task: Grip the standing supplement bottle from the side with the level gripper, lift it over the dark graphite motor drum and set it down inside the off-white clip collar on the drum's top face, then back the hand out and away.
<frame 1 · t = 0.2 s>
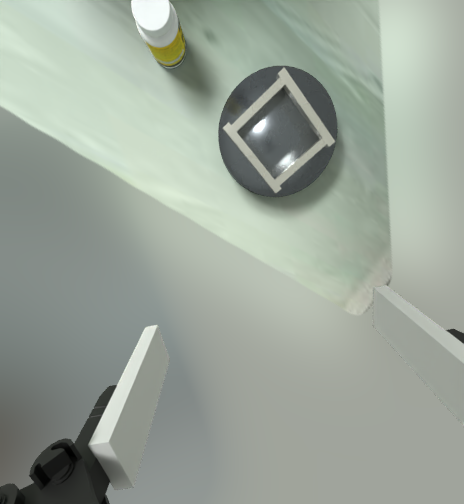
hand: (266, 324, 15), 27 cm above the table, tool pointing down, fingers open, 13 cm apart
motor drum: (272, 140, 36), on the table
supplement bottle: (169, 49, 33), on the table
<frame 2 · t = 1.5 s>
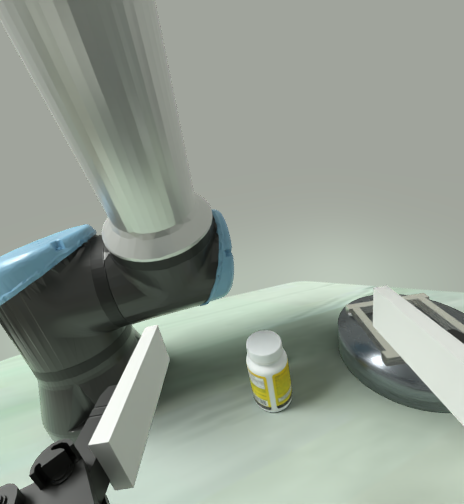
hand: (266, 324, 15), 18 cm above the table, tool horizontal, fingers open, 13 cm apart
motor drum: (404, 352, 32), on the table
supplement bottle: (273, 395, 30), on the table
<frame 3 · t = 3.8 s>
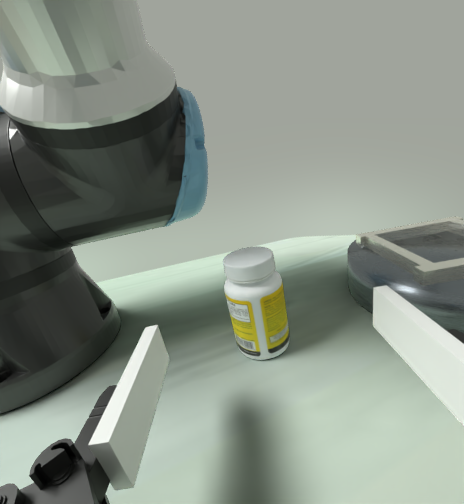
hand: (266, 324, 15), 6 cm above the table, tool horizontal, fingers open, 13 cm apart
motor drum: (436, 287, 24), on the table
supplement bottle: (263, 343, 22), on the table
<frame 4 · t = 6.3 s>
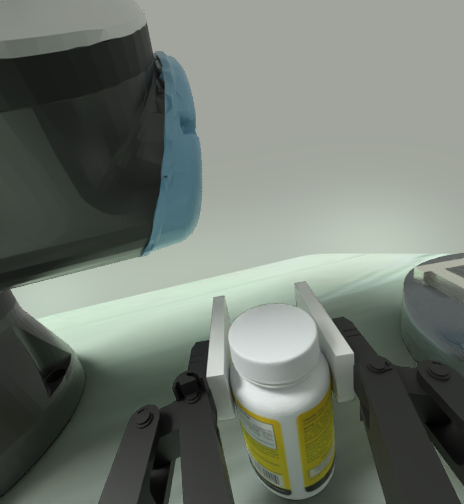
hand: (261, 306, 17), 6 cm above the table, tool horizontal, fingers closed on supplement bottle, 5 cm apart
supplement bottle: (290, 450, 14), on the table, touching gripper
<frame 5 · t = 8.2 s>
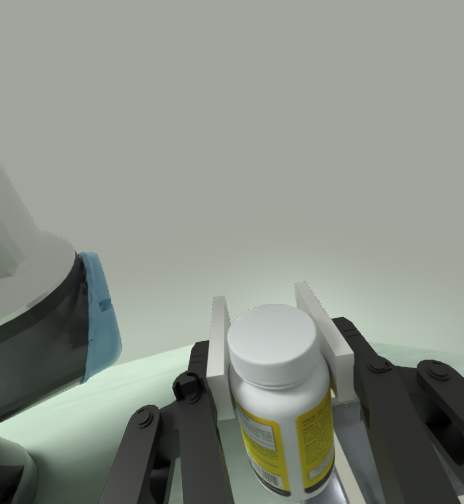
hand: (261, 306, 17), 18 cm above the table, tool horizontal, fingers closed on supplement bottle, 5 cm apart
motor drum: (386, 474, 21), on the table
supplement bottle: (289, 451, 14), point 12 cm above the table, touching gripper
when the fingers open (11 cm above the table, at t = 10.2 s): supplement bottle drops 1 cm, resting on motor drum.
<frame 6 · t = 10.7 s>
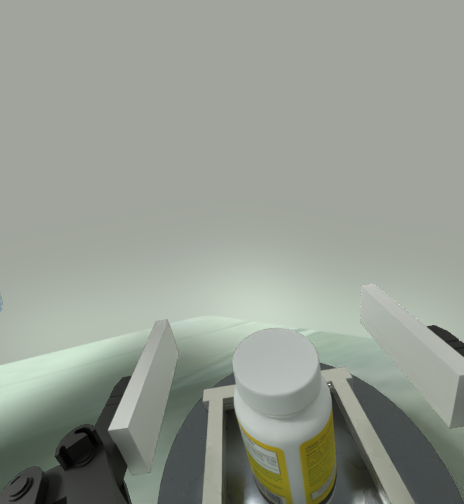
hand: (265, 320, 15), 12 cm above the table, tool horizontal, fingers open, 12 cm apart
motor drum: (298, 502, 16), on the table
supplement bottle: (292, 468, 14), point 4 cm above the table, touching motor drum
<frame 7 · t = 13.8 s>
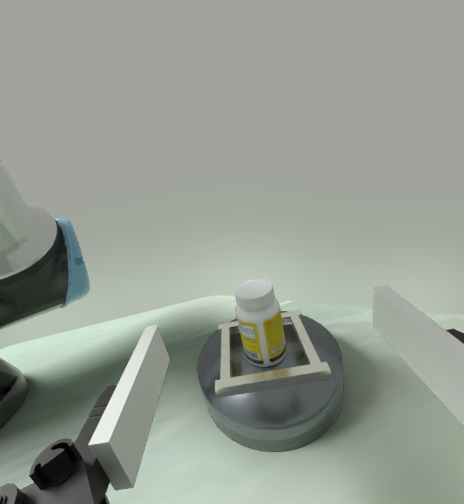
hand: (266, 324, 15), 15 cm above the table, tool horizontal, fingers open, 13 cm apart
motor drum: (270, 377, 29), on the table
supplement bottle: (265, 353, 28), point 4 cm above the table, touching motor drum
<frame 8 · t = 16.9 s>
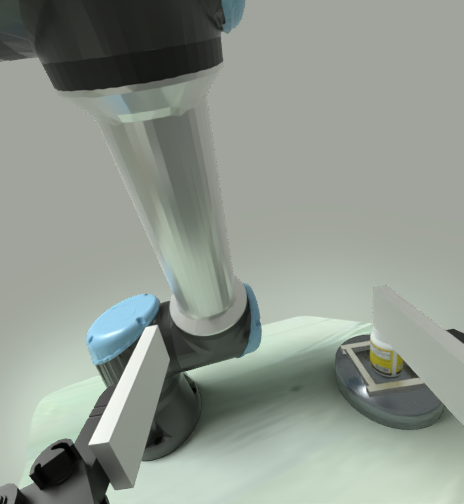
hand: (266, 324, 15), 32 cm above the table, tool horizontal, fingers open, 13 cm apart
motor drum: (384, 383, 43), on the table
supplement bottle: (385, 367, 42), point 4 cm above the table, touching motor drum
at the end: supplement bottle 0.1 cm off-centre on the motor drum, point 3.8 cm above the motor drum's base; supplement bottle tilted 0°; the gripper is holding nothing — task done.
